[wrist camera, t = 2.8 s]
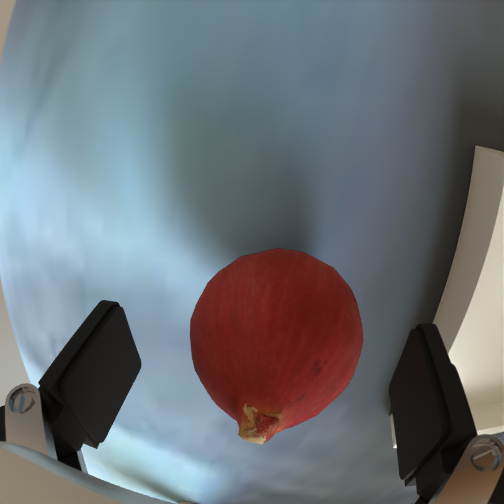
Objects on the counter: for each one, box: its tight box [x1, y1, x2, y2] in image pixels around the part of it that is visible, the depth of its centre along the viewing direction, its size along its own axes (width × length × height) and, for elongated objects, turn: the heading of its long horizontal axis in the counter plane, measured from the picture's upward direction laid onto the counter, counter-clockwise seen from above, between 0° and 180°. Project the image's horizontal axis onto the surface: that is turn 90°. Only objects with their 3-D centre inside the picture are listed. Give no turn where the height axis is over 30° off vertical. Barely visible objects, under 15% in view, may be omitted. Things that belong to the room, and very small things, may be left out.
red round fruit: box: [190, 248, 363, 444], centre depth 10 cm, size 6×6×8 cm
